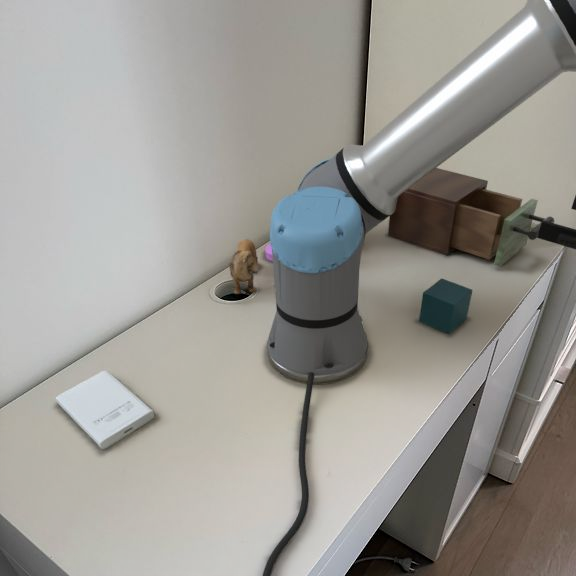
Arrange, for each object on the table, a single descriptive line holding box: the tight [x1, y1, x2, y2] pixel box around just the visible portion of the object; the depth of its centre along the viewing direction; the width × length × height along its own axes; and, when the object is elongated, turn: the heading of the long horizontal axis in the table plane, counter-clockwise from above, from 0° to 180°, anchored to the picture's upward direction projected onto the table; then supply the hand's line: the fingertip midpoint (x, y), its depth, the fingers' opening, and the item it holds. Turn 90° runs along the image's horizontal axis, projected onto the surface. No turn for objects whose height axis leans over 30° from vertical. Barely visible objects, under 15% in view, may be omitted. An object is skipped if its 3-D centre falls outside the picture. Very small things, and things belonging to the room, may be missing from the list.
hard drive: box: [55, 370, 156, 450], centre depth 75 cm, size 2×8×12 cm
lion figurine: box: [228, 238, 262, 295], centre depth 96 cm, size 15×5×9 cm, turn 6°
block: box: [418, 277, 473, 335], centre depth 86 cm, size 6×6×6 cm
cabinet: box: [387, 167, 489, 256], centre depth 106 cm, size 14×12×11 cm
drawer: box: [451, 188, 555, 268], centre depth 99 cm, size 17×10×9 cm, turn 47°
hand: (557, 214), depth 91 cm, fingers open, 13 cm apart
